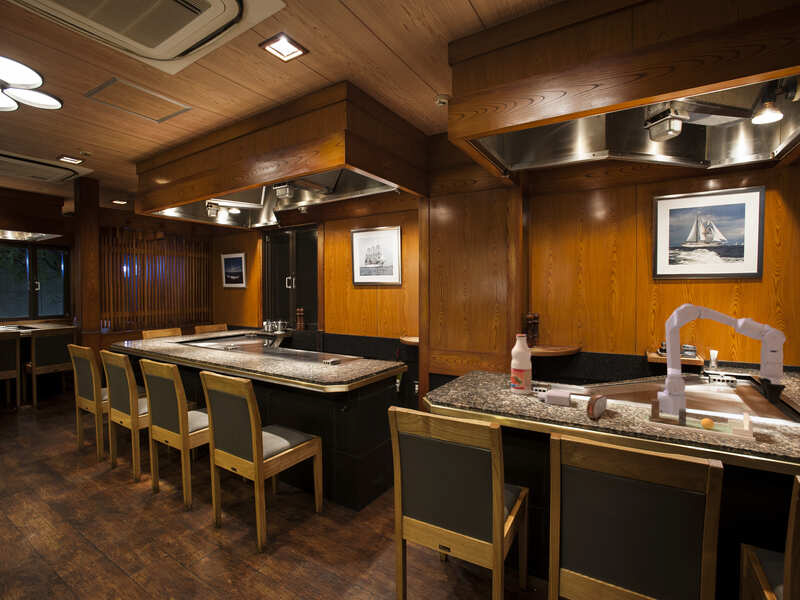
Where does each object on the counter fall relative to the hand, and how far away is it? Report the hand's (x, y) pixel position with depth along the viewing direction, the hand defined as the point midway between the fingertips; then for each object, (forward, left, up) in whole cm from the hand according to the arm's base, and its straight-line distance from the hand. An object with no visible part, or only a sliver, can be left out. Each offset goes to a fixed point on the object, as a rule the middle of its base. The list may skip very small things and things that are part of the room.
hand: (770, 401), depth 140 cm
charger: (-73, -5, -10) cm, 74 cm away
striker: (-30, -17, -8) cm, 36 cm away
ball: (-19, -17, -7) cm, 26 cm away
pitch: (-22, -17, -10) cm, 30 cm away
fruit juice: (-89, +4, -10) cm, 89 cm away
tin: (-53, -17, -10) cm, 56 cm away
